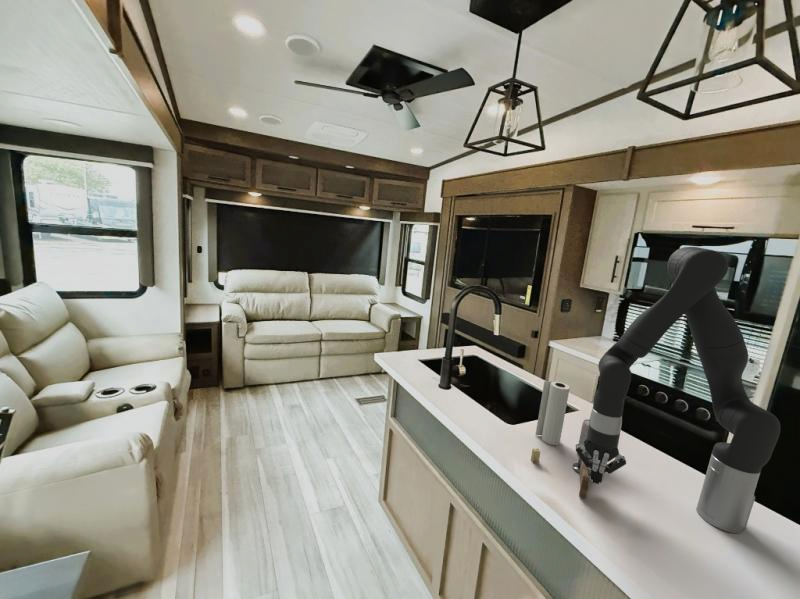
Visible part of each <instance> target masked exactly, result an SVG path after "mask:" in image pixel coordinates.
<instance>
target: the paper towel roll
mask: <svg viewBox="0 0 800 599" xmlns="http://www.w3.org/2000/svg"><path fill="white" fill-rule="evenodd" d="M570 389H571V387H570V386H569V385H568V384H566V383H564V382H561V381H553V380H551V381H546V380H544V382H543V387H542V392H541V393H542V394H541V400H540V405H539V412H538V419H537V424H536V430H535V436H541V440H542V441H543V442H544V443H545V444H548V445H551V446H558V445H559V444H560V442H561V438H562V433H563V427H564V422H565V415H566V410H567V405H568V399H569V393H570Z"/></svg>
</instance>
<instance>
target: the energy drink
mask: <svg viewBox="0 0 800 599" xmlns="http://www.w3.org/2000/svg"><path fill="white" fill-rule="evenodd" d="M589 422H590V421H589V418H587V419H584V420H583V421H582V424H581V427H580V428H581V430H580V434H579V439H578V444H579V445H582V444H584V441H585V440H586V439H587V434H588V428H589ZM576 454H577V456H578V457H579V455H578V453H577V452H576ZM588 459H589V460H590V461H591V462H592V457H591V456H590V455H589V457H588Z"/></svg>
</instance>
